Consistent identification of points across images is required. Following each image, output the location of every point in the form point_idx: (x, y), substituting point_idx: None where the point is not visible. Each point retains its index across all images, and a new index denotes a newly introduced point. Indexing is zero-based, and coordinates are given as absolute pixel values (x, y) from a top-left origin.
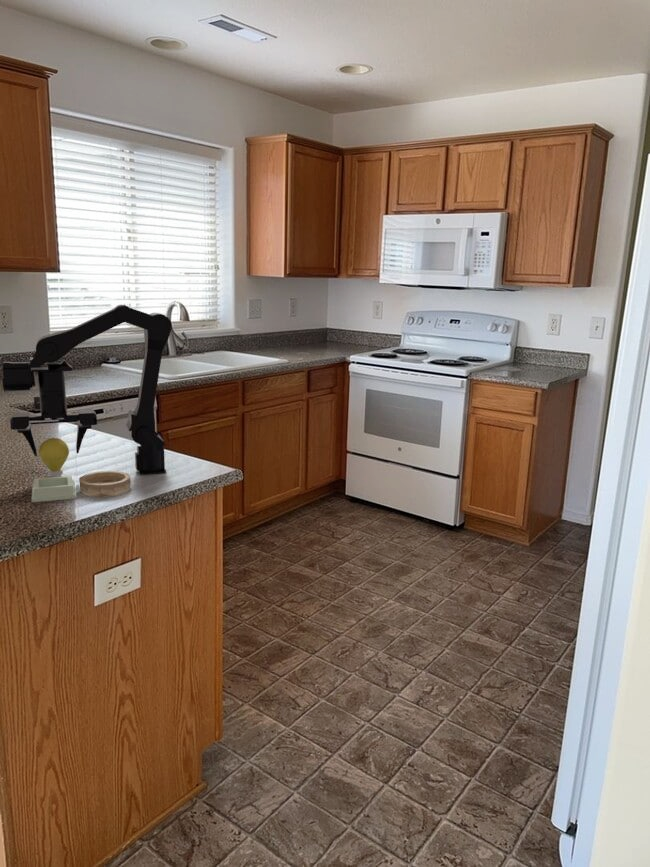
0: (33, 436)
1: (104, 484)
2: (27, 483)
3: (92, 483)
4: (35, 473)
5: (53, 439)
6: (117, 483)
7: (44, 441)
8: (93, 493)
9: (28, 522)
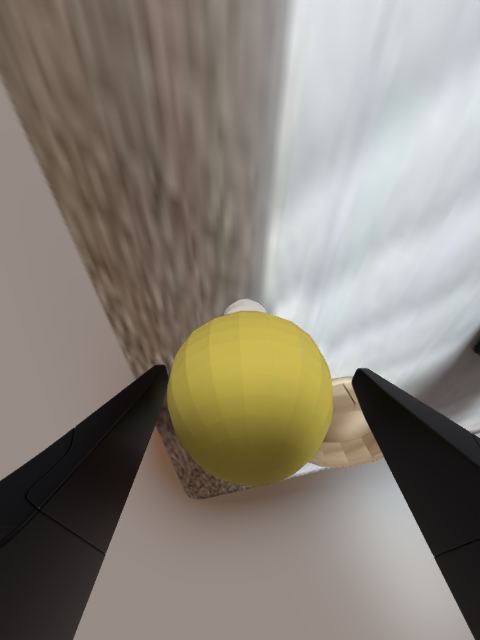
0: (77, 502)
1: (331, 465)
2: (166, 332)
3: (312, 458)
4: (170, 219)
5: (254, 484)
6: (356, 463)
7: (189, 451)
8: None
9: (203, 478)
